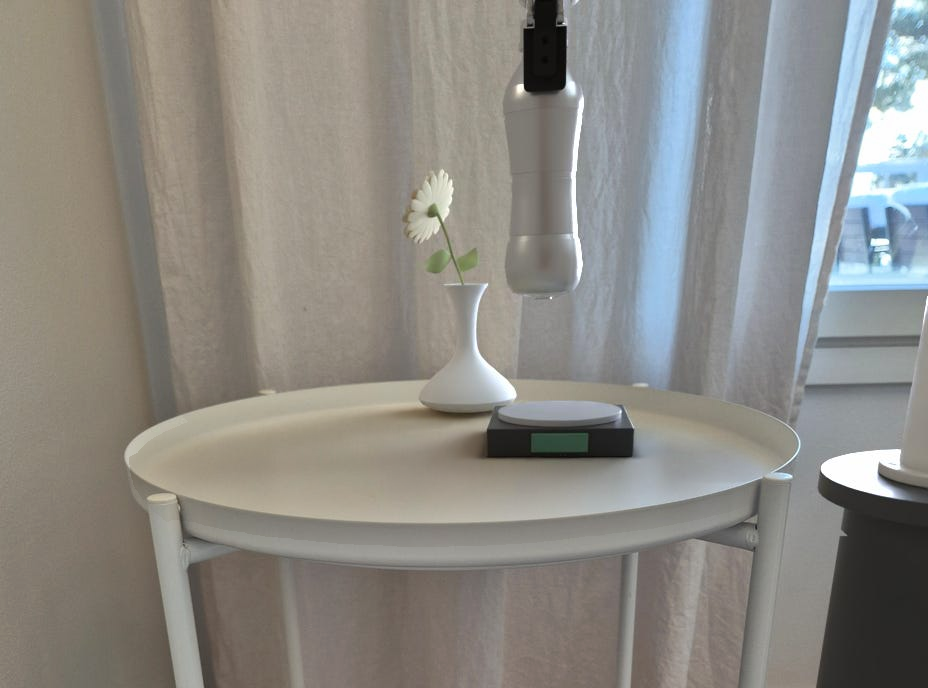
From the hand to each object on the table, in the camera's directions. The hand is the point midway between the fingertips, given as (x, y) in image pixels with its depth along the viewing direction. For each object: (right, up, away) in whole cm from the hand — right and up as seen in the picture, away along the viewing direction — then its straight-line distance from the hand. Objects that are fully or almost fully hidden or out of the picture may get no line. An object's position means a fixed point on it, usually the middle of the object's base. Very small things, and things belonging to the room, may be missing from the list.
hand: (544, 95), depth 70 cm
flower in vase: (-6, -17, +33) cm, 37 cm away
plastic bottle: (+1, -14, +6) cm, 15 cm away
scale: (+3, -24, +15) cm, 29 cm away
